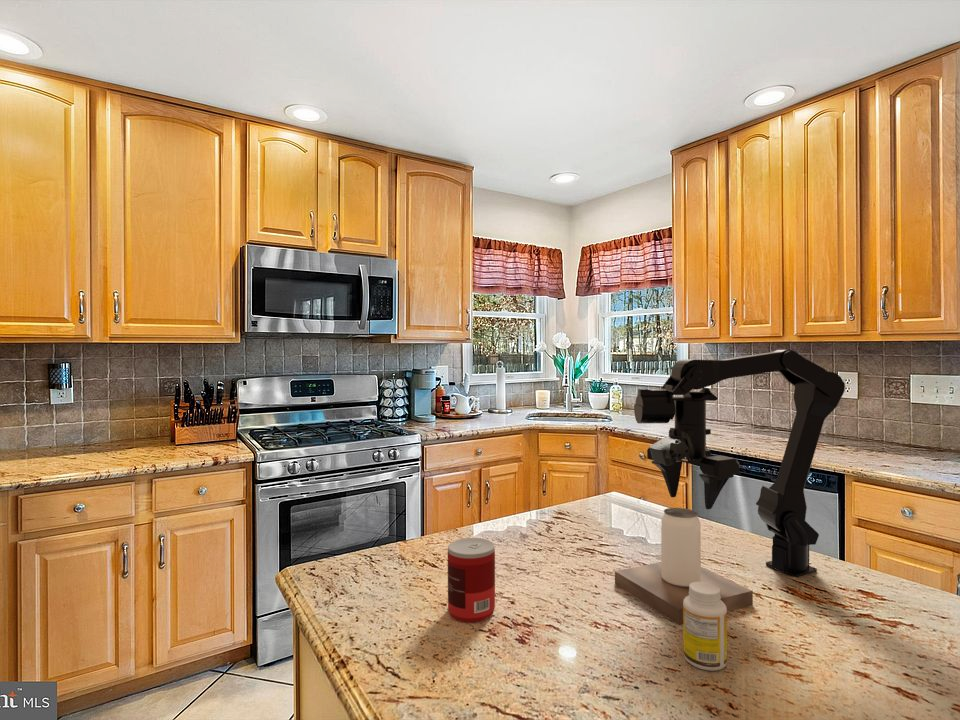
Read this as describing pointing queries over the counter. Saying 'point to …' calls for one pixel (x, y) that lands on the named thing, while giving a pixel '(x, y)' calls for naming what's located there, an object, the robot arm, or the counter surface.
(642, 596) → the base
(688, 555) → the can
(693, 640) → the supplement bottle
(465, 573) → the canned food
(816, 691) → the counter surface
